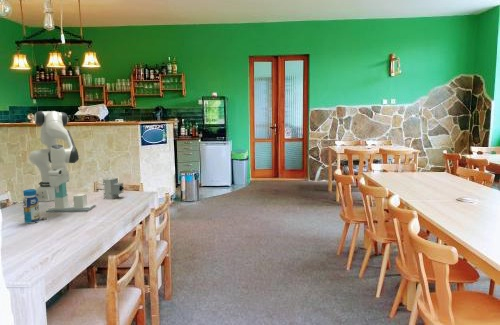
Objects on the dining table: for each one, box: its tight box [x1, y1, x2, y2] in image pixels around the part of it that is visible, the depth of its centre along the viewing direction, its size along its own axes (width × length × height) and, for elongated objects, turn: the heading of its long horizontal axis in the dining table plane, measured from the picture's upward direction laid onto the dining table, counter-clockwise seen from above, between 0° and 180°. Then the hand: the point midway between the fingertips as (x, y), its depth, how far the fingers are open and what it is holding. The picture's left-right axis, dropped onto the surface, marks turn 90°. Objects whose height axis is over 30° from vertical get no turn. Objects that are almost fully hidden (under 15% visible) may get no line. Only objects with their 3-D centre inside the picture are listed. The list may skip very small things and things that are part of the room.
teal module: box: [55, 182, 68, 198], centre depth 259 cm, size 5×6×9 cm
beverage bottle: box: [22, 188, 41, 224], centre depth 243 cm, size 8×8×20 cm
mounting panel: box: [45, 193, 97, 213], centre depth 273 cm, size 28×14×10 cm, turn 91°
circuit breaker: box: [102, 177, 125, 200], centre depth 307 cm, size 8×14×15 cm, turn 78°
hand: (60, 191), depth 259 cm, fingers closed on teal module, 5 cm apart
